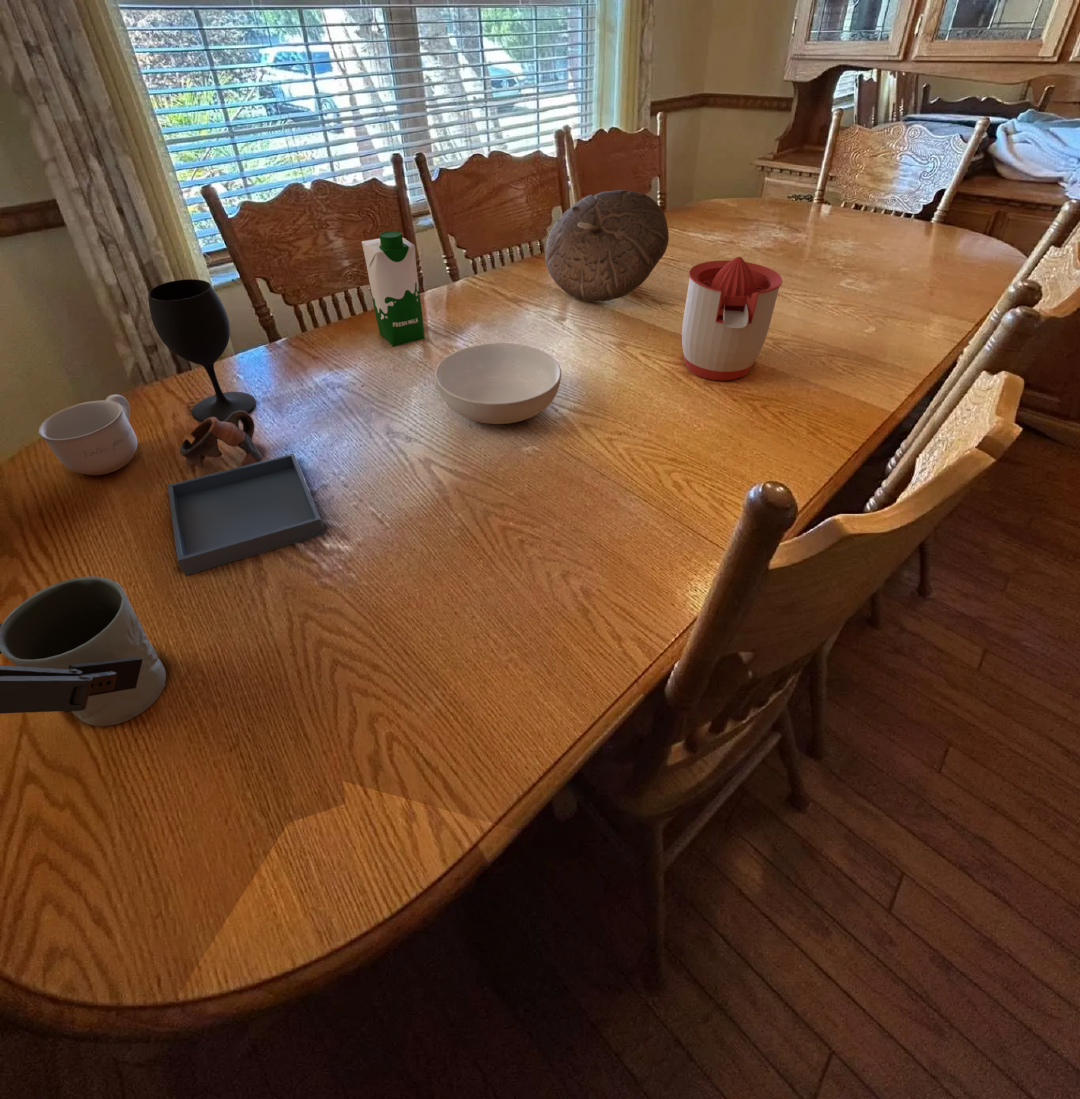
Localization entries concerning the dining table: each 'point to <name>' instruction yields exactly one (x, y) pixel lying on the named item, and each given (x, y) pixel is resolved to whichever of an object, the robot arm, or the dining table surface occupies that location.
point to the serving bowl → (498, 382)
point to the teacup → (92, 436)
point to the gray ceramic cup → (85, 641)
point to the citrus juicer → (727, 317)
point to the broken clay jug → (225, 432)
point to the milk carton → (394, 288)
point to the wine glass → (197, 338)
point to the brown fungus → (606, 245)
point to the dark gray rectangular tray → (241, 513)
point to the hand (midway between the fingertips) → (78, 654)
